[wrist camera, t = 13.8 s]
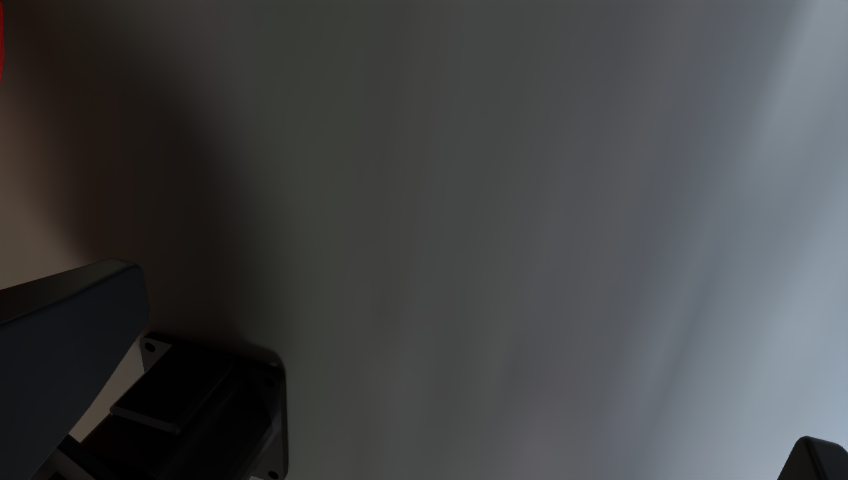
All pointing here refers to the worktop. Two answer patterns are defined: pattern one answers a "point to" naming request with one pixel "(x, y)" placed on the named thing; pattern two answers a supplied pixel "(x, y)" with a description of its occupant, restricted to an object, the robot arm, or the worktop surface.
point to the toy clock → (1, 39)
